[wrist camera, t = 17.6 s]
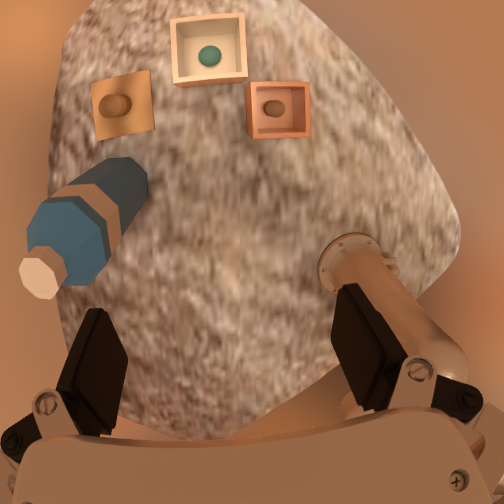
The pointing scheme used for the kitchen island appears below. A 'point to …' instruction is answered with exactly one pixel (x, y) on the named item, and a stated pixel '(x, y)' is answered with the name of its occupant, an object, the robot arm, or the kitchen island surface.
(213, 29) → the cream open box
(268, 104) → the cork
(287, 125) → the orange open box
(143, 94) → the lid
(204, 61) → the ball
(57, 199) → the water bottle
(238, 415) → the kitchen island surface
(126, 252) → the kitchen island surface
